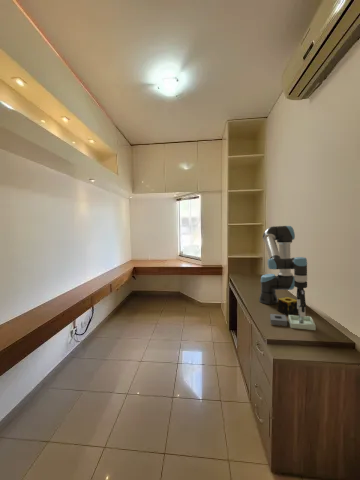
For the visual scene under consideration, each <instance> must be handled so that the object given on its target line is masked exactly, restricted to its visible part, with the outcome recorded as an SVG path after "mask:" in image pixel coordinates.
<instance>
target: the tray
mask: <svg viewBox="0 0 360 480" xmlns="http://www.w3.org/2000/svg"><path fill="white" fill-rule="evenodd" d="M287 316H288V322H289V325H290V328H291V329H299V330H309V331H316V330H317V329H316V328H317V325H316V323H315V321H314V319H313V318H312V316H309V315H307V316H306V315H305V317H304V324H300V323H299V315H296V314H293V315H287Z"/></svg>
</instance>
